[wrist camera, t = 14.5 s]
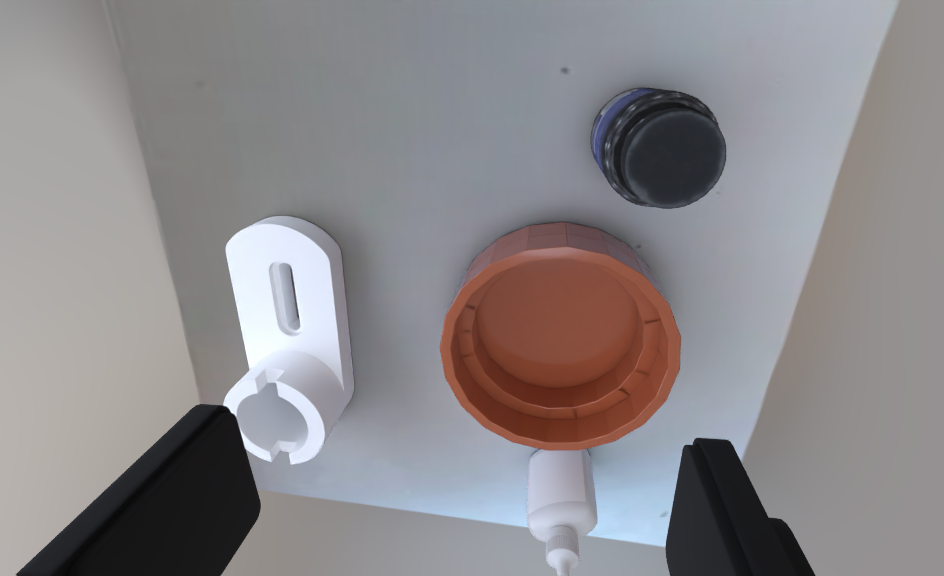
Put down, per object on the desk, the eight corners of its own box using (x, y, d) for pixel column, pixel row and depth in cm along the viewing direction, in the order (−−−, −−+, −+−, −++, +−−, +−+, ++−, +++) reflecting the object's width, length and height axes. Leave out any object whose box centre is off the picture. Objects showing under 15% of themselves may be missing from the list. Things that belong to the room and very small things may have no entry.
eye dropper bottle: (531, 434, 45) (526, 550, 34) (593, 442, 44) (608, 563, 33) (527, 470, 46) (521, 591, 36) (586, 478, 46) (598, 604, 35)
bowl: (422, 345, 42) (404, 385, 37) (518, 181, 36) (513, 200, 30) (584, 432, 44) (589, 483, 38) (707, 289, 37) (735, 327, 31)
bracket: (357, 419, 47) (329, 470, 41) (273, 409, 48) (234, 458, 42) (337, 219, 39) (299, 245, 33) (236, 213, 40) (181, 238, 34)
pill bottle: (589, 182, 35) (605, 225, 25) (590, 91, 32) (609, 98, 22) (679, 177, 34) (734, 220, 24) (687, 83, 31) (752, 87, 21)
